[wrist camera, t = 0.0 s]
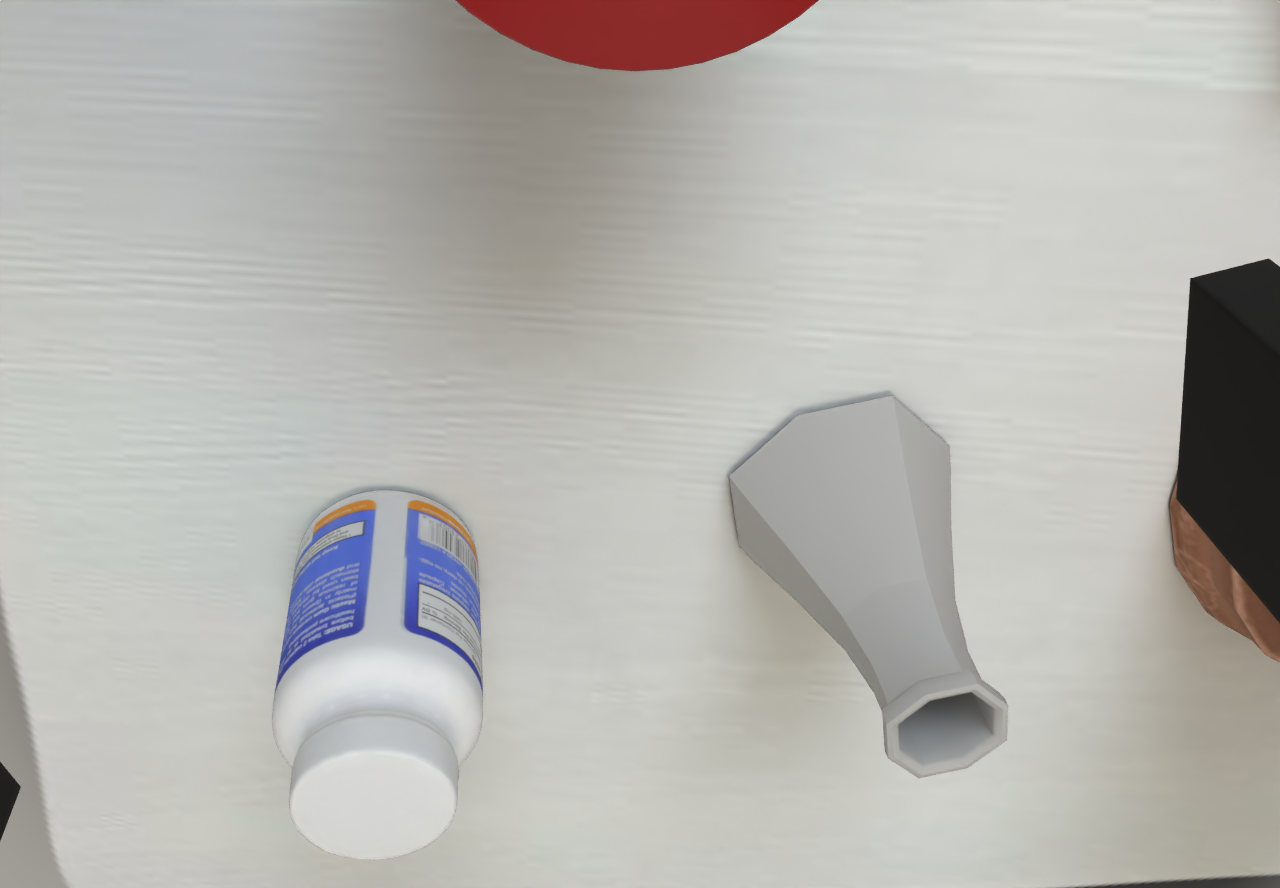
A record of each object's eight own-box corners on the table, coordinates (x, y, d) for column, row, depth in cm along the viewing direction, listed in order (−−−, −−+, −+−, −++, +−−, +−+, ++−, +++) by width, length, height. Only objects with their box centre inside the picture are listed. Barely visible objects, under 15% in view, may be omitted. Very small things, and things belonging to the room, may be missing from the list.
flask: (981, 518, 39) (1122, 756, 30) (782, 611, 40) (866, 864, 32) (906, 354, 35) (1046, 577, 26) (688, 463, 36) (756, 708, 28)
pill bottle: (301, 618, 37) (259, 885, 29) (295, 480, 34) (246, 735, 26) (475, 620, 38) (479, 879, 30) (483, 485, 35) (491, 732, 27)
